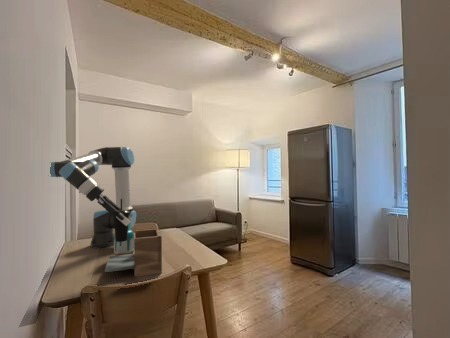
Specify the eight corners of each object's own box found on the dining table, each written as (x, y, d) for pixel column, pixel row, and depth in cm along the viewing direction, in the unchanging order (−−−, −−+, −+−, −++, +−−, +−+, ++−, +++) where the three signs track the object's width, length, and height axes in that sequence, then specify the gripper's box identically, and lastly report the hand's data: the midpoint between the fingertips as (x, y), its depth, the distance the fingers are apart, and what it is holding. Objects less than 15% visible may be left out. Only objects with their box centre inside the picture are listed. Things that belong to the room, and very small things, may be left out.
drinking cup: (116, 238, 121) (116, 198, 121) (131, 238, 121) (131, 198, 122) (110, 243, 113) (110, 199, 114) (127, 242, 114) (126, 199, 114)
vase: (114, 263, 128) (114, 226, 128) (113, 257, 137) (113, 223, 137) (135, 259, 132) (135, 224, 133) (133, 254, 142) (133, 221, 142)
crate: (109, 266, 123) (109, 232, 124) (159, 260, 131) (158, 228, 131) (104, 281, 106) (104, 241, 107) (161, 272, 114) (161, 236, 114)
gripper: (89, 194, 122) (124, 224, 127) (79, 197, 103) (121, 232, 108) (101, 183, 124) (135, 213, 129) (94, 185, 105) (134, 220, 110)
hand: (129, 222), depth 118 cm, fingers closed on drinking cup, 7 cm apart
